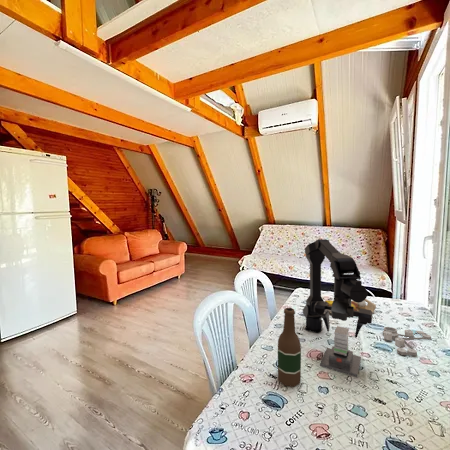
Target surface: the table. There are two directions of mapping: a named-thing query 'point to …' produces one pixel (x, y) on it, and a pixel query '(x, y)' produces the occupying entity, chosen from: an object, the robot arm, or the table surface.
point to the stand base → (341, 362)
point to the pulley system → (403, 339)
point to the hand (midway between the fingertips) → (341, 334)
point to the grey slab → (341, 340)
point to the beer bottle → (289, 352)
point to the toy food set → (358, 305)
